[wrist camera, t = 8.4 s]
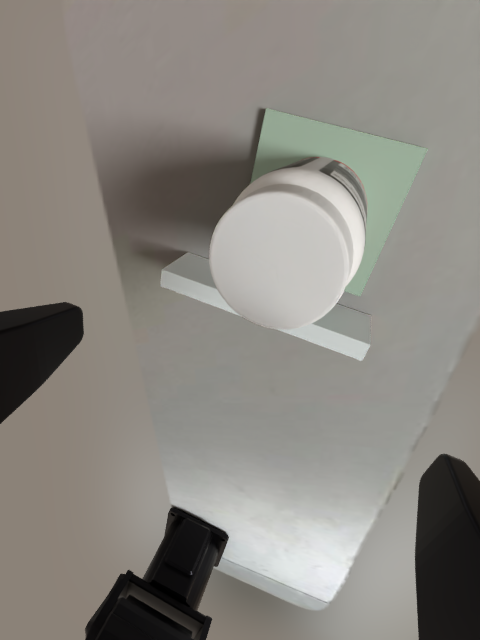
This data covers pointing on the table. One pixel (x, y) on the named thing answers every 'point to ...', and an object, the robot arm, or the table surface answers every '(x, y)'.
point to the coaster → (358, 154)
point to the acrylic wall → (329, 331)
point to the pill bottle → (291, 243)
